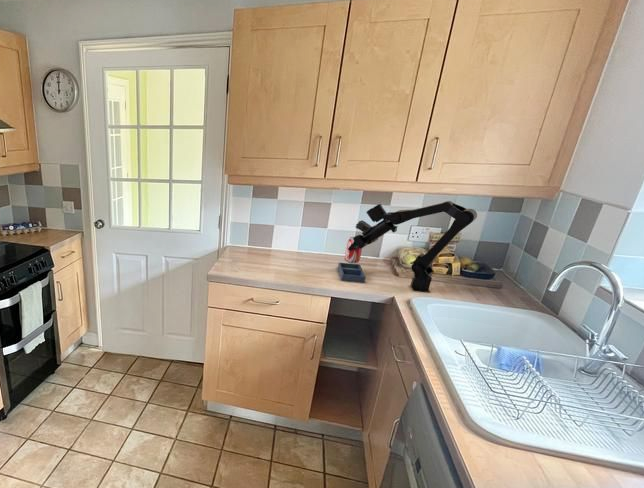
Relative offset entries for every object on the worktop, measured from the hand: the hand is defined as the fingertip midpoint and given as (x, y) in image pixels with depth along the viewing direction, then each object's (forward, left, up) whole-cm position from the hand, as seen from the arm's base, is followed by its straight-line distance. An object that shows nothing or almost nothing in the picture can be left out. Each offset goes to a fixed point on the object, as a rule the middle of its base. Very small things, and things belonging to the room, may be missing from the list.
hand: (351, 248), depth 204 cm
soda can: (-1, +1, -7) cm, 7 cm away
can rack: (-1, +5, -12) cm, 13 cm away
